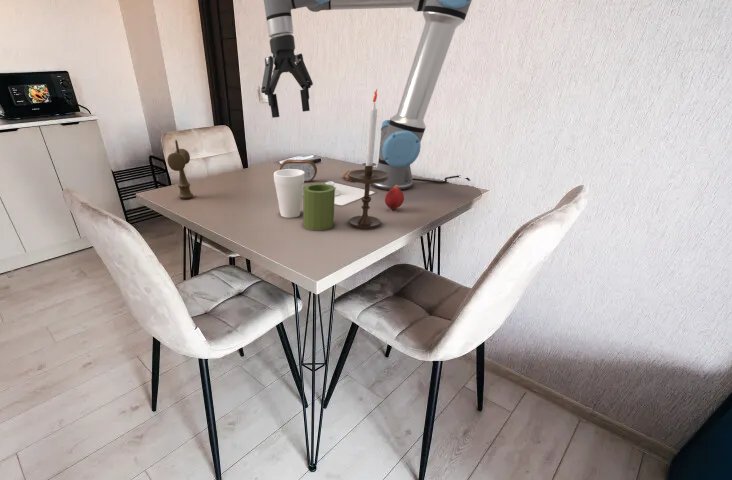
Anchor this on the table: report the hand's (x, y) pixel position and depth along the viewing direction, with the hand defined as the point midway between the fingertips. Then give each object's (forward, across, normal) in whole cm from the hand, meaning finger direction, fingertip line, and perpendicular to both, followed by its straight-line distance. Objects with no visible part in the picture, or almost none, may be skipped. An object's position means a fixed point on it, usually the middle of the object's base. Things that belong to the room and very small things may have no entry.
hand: (291, 114), depth 123 cm
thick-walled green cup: (+29, +16, +24) cm, 41 cm away
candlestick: (+31, +7, +33) cm, 46 cm away
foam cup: (+28, +16, +11) cm, 34 cm away
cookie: (+28, -31, -1) cm, 42 cm away
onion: (+32, -9, +32) cm, 46 cm away
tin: (+26, -13, -15) cm, 32 cm away
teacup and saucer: (+28, -11, +7) cm, 31 cm away
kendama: (+22, +30, -30) cm, 48 cm away
